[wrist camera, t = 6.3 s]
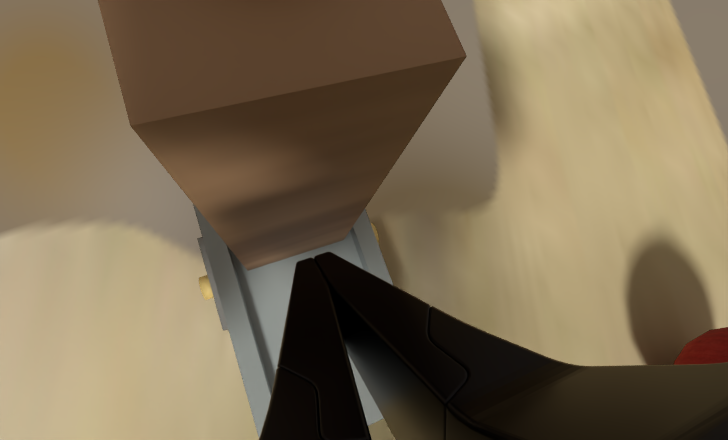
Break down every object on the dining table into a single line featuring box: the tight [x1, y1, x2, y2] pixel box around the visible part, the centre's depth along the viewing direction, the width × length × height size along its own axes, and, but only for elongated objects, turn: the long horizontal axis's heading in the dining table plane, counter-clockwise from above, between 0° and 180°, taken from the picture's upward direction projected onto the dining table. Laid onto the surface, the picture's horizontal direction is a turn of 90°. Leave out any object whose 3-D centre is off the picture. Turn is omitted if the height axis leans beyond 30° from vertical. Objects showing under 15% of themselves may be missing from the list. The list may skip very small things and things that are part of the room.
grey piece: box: [193, 204, 393, 438], centre depth 16 cm, size 14×8×5 cm, turn 20°
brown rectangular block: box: [98, 0, 466, 271], centre depth 9 cm, size 5×4×12 cm
